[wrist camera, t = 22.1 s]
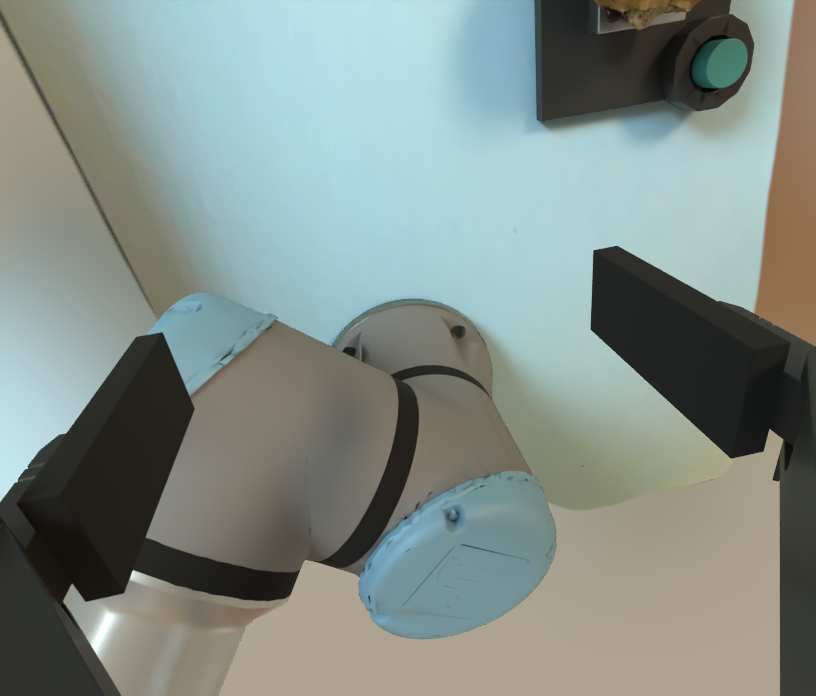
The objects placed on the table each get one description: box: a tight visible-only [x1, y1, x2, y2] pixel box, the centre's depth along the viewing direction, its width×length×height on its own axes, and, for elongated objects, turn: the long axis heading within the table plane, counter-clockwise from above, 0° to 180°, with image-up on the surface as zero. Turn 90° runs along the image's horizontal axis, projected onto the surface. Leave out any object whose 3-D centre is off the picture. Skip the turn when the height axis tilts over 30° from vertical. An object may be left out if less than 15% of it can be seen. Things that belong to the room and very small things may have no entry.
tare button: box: [691, 38, 748, 88], centre depth 36 cm, size 3×3×2 cm
